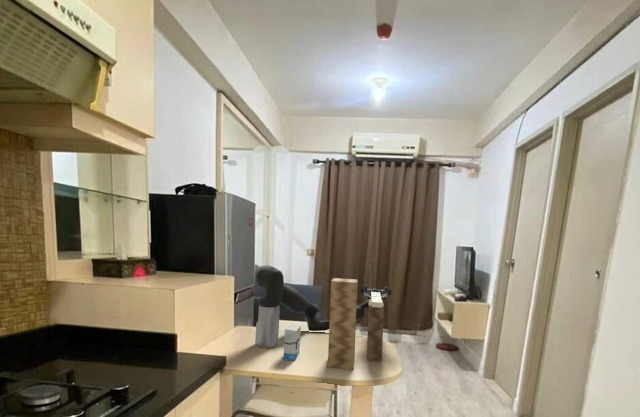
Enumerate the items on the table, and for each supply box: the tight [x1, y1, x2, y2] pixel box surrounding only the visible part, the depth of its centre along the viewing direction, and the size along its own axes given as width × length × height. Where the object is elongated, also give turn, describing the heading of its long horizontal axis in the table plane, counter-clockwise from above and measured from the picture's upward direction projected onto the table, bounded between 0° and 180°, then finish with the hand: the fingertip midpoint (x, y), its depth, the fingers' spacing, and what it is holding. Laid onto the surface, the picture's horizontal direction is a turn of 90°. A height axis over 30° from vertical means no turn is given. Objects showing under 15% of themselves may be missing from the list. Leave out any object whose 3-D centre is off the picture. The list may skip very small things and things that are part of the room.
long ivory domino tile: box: [371, 292, 382, 308], centre depth 146 cm, size 4×22×2 cm, turn 172°
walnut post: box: [366, 299, 385, 362], centre depth 143 cm, size 6×12×22 cm, turn 172°
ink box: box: [283, 323, 302, 361], centre depth 138 cm, size 8×5×12 cm, turn 168°
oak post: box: [326, 277, 358, 371], centre depth 134 cm, size 10×11×32 cm
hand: (376, 288), depth 151 cm, fingers open, 8 cm apart
